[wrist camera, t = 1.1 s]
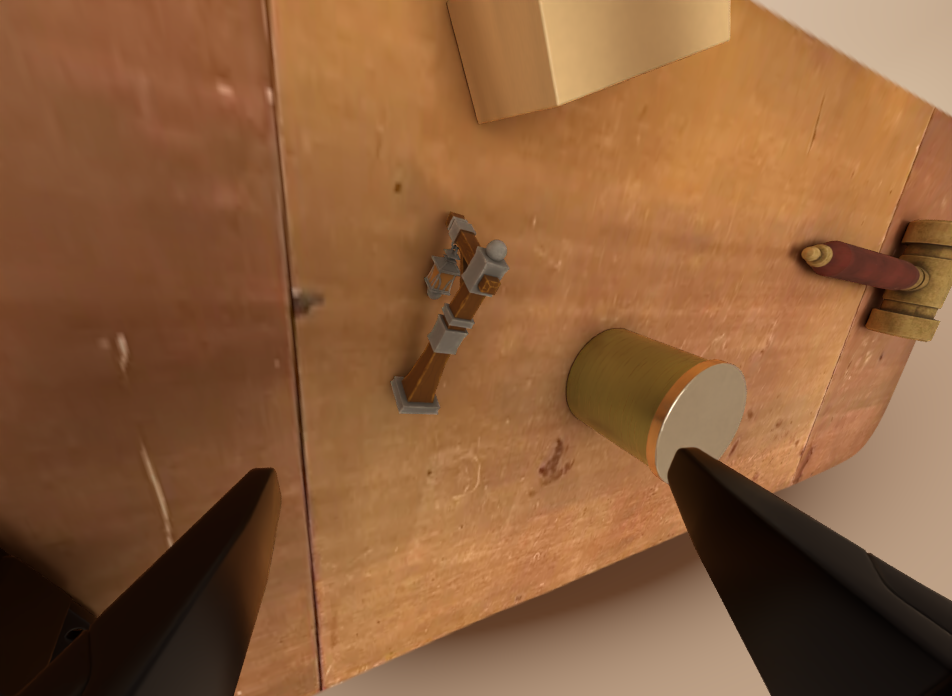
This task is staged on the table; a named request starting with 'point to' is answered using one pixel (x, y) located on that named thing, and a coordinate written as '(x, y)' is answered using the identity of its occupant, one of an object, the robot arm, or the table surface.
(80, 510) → the table surface
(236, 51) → the table surface
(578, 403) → the enamel tin
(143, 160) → the table surface
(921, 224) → the gavel
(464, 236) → the wooden lantern post
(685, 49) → the birch block
